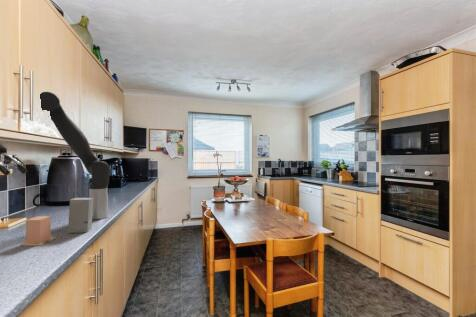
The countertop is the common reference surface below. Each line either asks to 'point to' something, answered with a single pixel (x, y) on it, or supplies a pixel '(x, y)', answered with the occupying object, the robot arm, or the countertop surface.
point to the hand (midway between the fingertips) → (17, 173)
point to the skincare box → (80, 215)
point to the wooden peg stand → (37, 243)
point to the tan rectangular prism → (38, 229)
